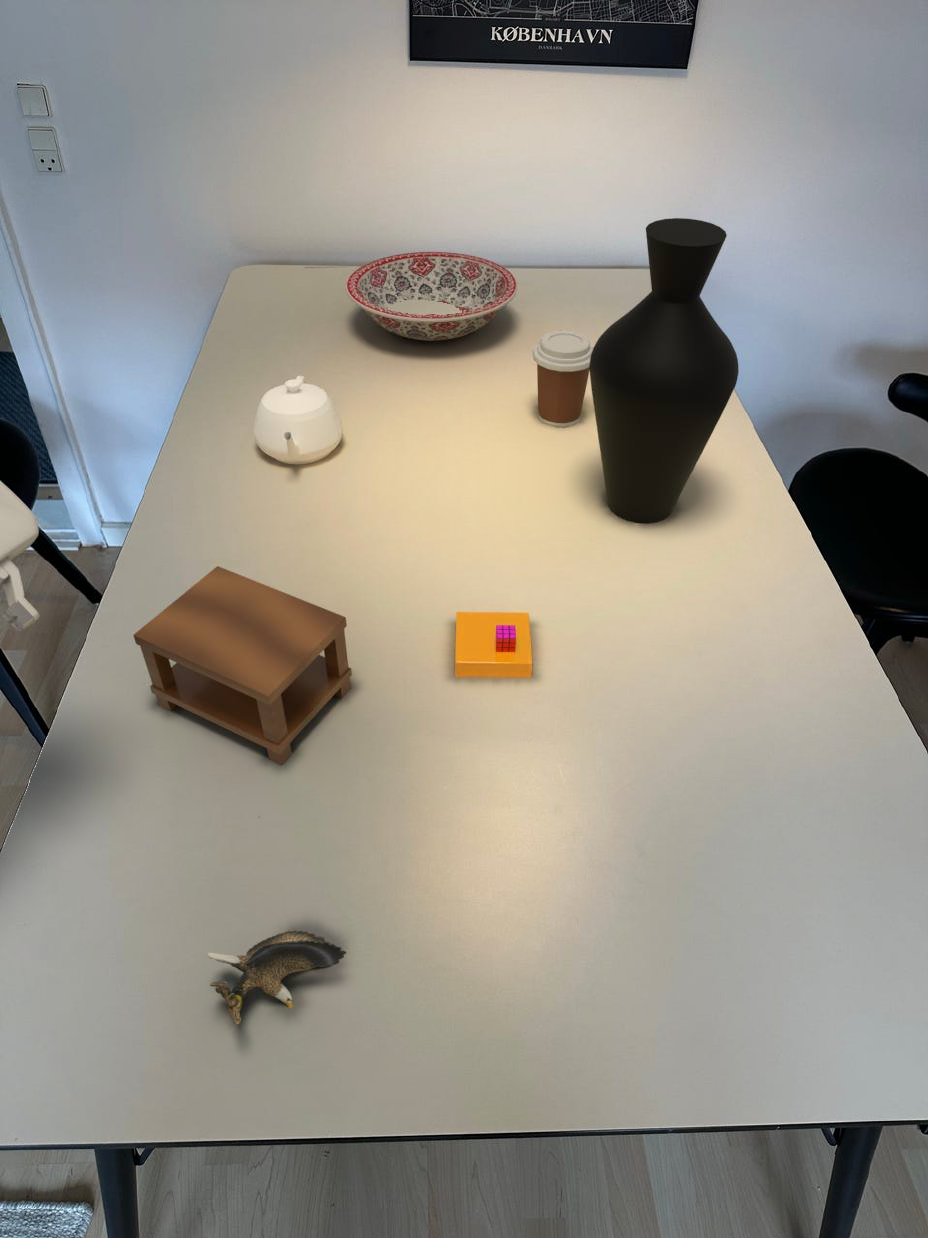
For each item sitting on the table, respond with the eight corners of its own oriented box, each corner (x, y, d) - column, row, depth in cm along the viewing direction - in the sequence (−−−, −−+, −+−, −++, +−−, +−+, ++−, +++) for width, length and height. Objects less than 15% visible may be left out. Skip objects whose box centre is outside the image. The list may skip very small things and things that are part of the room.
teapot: (340, 488, 121) (333, 420, 114) (247, 489, 121) (235, 422, 114) (347, 413, 136) (341, 350, 129) (264, 414, 135) (254, 351, 129)
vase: (733, 511, 118) (802, 236, 94) (644, 562, 110) (697, 275, 86) (635, 456, 128) (676, 194, 104) (547, 499, 119) (570, 226, 96)
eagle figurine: (265, 1065, 65) (364, 977, 68) (210, 996, 62) (315, 908, 65) (238, 1015, 71) (330, 937, 74) (188, 951, 69) (284, 874, 72)
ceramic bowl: (386, 285, 172) (384, 243, 167) (534, 306, 165) (537, 263, 160) (321, 350, 151) (316, 303, 146) (486, 377, 145) (488, 329, 139)
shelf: (282, 768, 86) (268, 696, 79) (156, 706, 92) (132, 634, 85) (353, 688, 94) (346, 617, 87) (233, 636, 99) (217, 565, 93)
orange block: (455, 677, 95) (455, 648, 92) (456, 626, 101) (456, 597, 98) (531, 678, 95) (533, 649, 92) (527, 627, 101) (529, 598, 98)
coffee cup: (516, 411, 137) (520, 336, 129) (564, 395, 141) (570, 321, 132) (553, 437, 131) (560, 360, 123) (601, 420, 135) (611, 344, 127)
